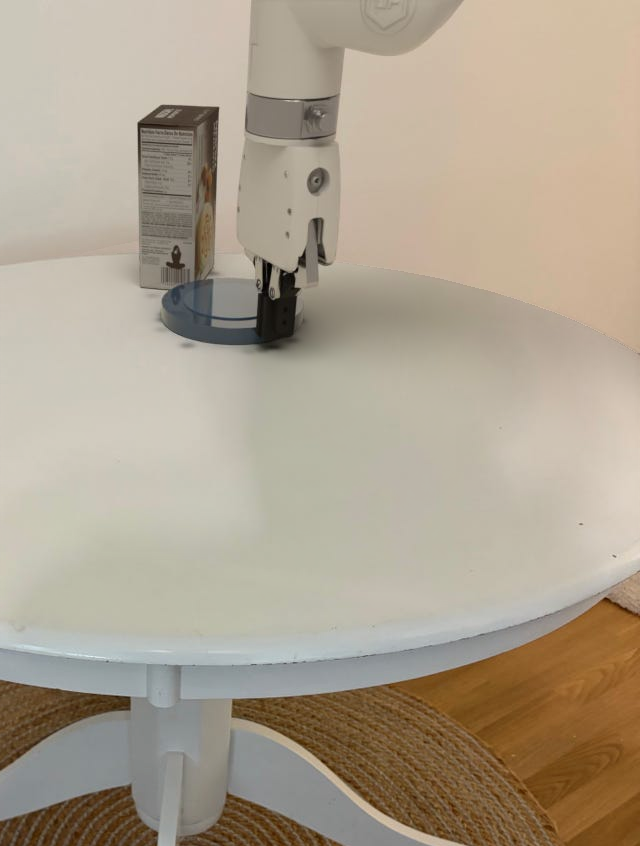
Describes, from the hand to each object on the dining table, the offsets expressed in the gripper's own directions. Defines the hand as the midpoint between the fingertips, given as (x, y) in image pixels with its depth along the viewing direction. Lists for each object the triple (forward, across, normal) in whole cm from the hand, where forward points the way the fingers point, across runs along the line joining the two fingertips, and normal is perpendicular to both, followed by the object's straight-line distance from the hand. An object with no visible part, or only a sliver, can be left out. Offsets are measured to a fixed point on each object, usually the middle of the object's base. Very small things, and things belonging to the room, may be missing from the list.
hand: (274, 335), depth 92 cm
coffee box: (+1, +21, -1) cm, 21 cm away
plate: (+1, +8, 0) cm, 8 cm away
